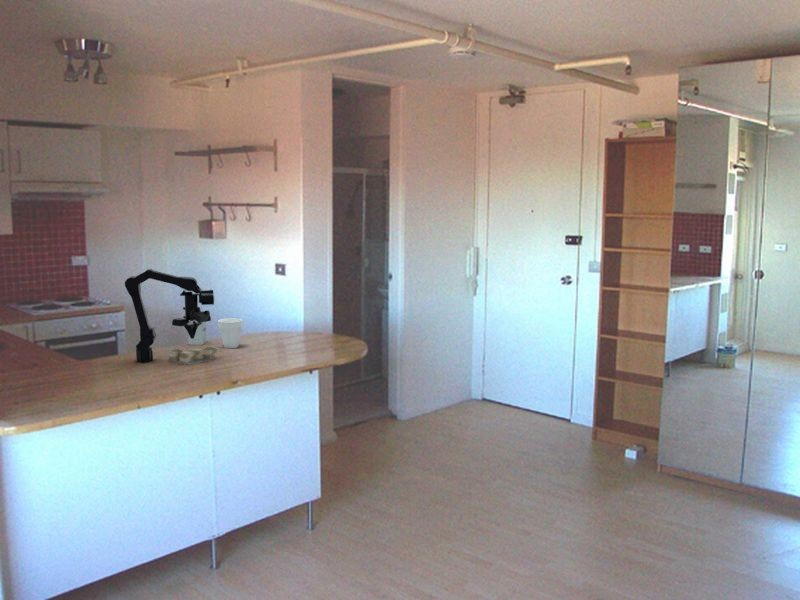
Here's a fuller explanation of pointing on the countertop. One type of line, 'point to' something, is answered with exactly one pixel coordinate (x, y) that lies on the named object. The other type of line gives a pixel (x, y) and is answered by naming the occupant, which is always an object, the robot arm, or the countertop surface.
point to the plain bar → (191, 355)
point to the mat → (194, 361)
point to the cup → (230, 331)
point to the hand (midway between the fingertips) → (192, 338)
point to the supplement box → (199, 335)
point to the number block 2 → (210, 353)
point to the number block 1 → (174, 355)
